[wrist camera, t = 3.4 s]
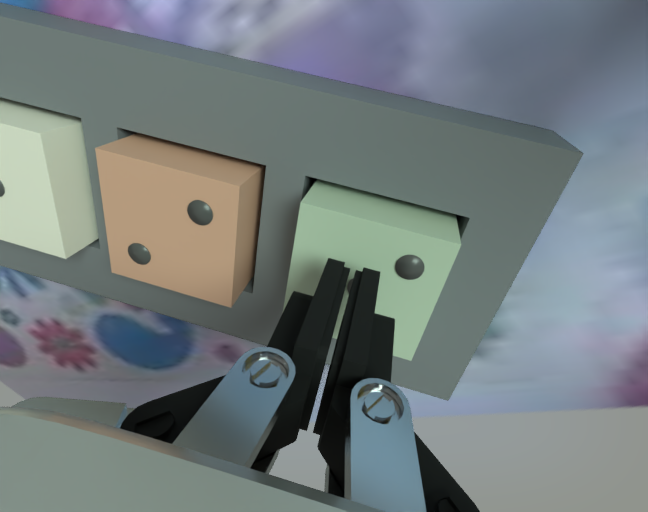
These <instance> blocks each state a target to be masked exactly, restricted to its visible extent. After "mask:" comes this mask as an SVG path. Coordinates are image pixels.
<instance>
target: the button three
mask: <svg viewBox="0 0 648 512" xmlns="http://www.w3.org/2000/svg"><path fill="white" fill-rule="evenodd" d="M460 247H461V240H460V234H459V229H458V223H457V218H456V214H453V213H449V212H445V211H441V210H437V209H433V208H429V207H425V206H422V205H418V204H414V203H410V202H406V201H402V200H398V199H394V198H390V197H387V196H383V195H379V194H375V193H371V192H367V191H363V190H359V189H355V188H352V187H348V186H344V185H340V184H336V183H332V182H328V181H324V180H320V179H317V180H316V182H315V183H314V184H313V186H312V187H311V189H310V190H309V191H308V193H307V194H306V195H305V197H304V198H303V200H302V201H301V203H300V209H299V215H298V221H297V227H296V234H295V240H294V246H293V252H292V258H291V264H290V270H289V276H288V283H287V289H286V295H285V301H284V307H283V311H284V309H285V307H286V305H287V303H288V301H289V299H290V296H291V294H292V293H293V291H297V292H300V293H304V294H307V295H311V296H314V294H315V291H316V288H317V286H318V283H319V281H320V278H321V276H322V273H323V270H324V268H325V265H326V263H327V260H328V258H331V259H335V260H339V261H342V262H345V265H344V267H347V268H350V272H349V276H348V280H347V283H346V287H345V291H344V295H343V299H342V302H341V306H340V310H339V314H338V317H337V321H336V325H335V329H334V333H333V336H332V338H335V339H337V337H338V333H339V329H340V326H341V322H342V318H343V315H344V311H345V308H346V304H347V300H348V297H349V293H350V289H351V286H352V282H353V278H354V275H355V271H356V270H358V271H363V268H364V267H365V268H369V269H372V270H376V271H380V279H379V286H378V293H377V300H376V307H375V313H376V314H380V315H383V316H387V317H391V318H394V319H395V330H394V344H393V356H396V357H400V358H403V359H406V360H410V361H411V360H412V358H413V356H414V353H415V351H416V349H417V347H418V344H419V342H420V340H421V337H422V335H423V333H424V330H425V328H426V326H427V323H428V321H429V319H430V316H431V314H432V312H433V309H434V307H435V305H436V303H437V300H438V298H439V296H440V293H441V291H442V289H443V286H444V284H445V282H446V279H447V277H448V275H449V272H450V270H451V268H452V265H453V263H454V261H455V259H456V256H457V254H458V252H459V249H460Z"/></svg>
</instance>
